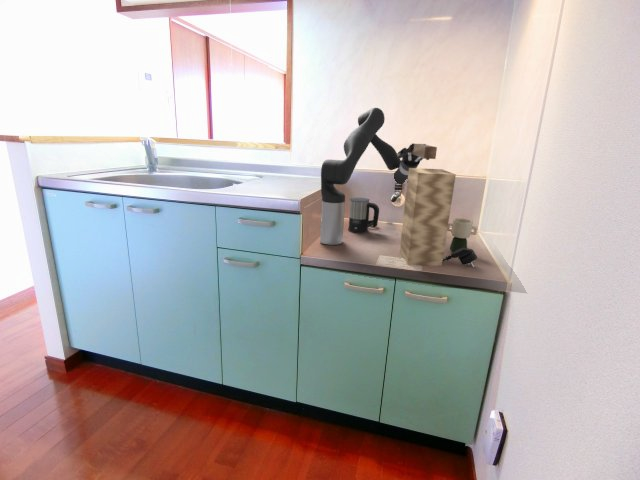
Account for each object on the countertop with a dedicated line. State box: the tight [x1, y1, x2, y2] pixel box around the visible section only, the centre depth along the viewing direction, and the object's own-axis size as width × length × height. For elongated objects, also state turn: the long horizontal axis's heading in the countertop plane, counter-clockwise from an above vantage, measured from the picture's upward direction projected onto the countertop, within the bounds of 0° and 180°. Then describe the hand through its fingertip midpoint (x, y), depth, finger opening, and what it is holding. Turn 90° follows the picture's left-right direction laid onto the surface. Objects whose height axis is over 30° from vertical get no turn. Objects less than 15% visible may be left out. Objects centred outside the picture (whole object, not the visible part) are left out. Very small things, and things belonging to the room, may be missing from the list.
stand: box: [399, 167, 457, 267], centre depth 124 cm, size 12×15×32 cm
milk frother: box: [347, 196, 380, 233], centre depth 162 cm, size 14×16×15 cm
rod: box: [411, 143, 438, 160], centre depth 131 cm, size 4×23×4 cm, turn 177°
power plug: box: [442, 247, 478, 269], centre depth 123 cm, size 6×8×12 cm
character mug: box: [447, 217, 478, 253], centre depth 135 cm, size 11×7×13 cm, turn 64°
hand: (418, 145), depth 138 cm, fingers closed on rod, 4 cm apart
